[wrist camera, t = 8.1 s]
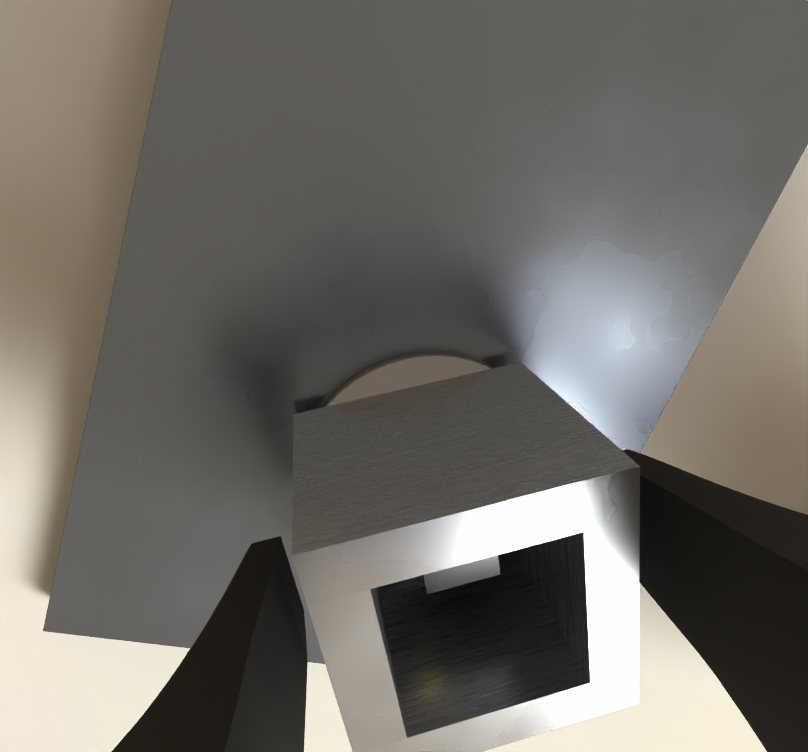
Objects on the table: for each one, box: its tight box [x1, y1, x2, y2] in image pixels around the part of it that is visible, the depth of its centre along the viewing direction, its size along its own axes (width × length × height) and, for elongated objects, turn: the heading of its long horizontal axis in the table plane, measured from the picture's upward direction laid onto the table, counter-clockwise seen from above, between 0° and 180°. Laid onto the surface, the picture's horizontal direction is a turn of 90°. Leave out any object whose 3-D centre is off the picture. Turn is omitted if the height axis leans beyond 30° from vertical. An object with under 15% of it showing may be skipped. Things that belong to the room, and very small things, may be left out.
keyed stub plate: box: [43, 0, 808, 664], centre depth 12 cm, size 14×20×4 cm
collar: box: [292, 362, 640, 752], centre depth 12 cm, size 6×6×5 cm
